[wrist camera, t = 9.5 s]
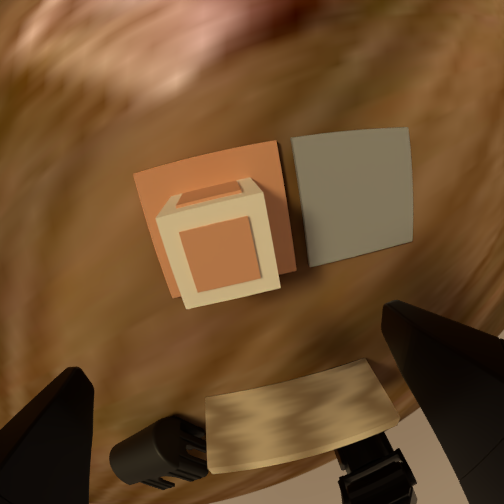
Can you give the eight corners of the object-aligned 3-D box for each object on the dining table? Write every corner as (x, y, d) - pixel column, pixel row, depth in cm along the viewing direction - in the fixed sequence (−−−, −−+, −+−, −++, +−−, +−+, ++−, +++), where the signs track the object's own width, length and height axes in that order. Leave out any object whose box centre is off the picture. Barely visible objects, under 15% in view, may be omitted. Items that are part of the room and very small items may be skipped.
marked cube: (249, 175, 17) (263, 189, 12) (264, 250, 19) (281, 289, 15) (170, 193, 17) (153, 216, 12) (192, 267, 19) (185, 310, 14)
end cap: (157, 402, 25) (150, 457, 19) (209, 428, 27) (212, 479, 21) (113, 430, 27) (105, 475, 20) (160, 452, 29) (157, 495, 23)
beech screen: (364, 357, 25) (400, 417, 18) (362, 382, 27) (391, 437, 20) (205, 397, 25) (207, 468, 18) (216, 418, 26) (221, 483, 19)
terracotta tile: (274, 140, 17) (276, 140, 17) (295, 268, 20) (296, 270, 20) (134, 173, 17) (133, 173, 16) (173, 295, 20) (172, 298, 20)
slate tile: (405, 127, 17) (408, 127, 17) (409, 239, 21) (412, 241, 21) (290, 137, 17) (291, 137, 17) (308, 265, 21) (310, 267, 20)
